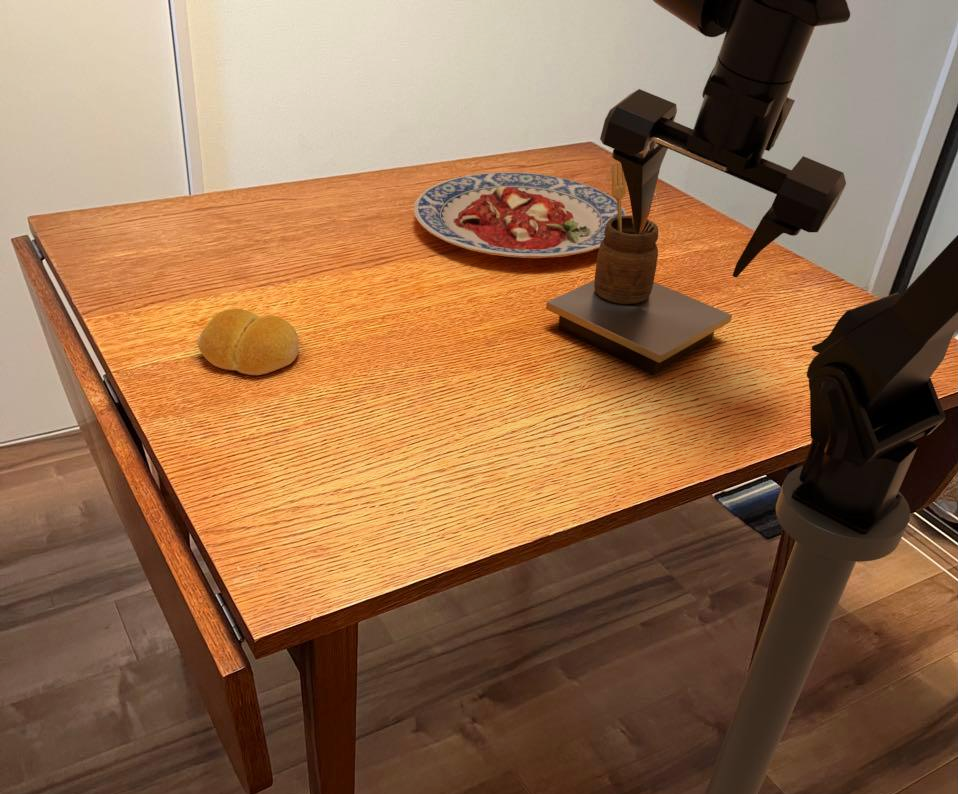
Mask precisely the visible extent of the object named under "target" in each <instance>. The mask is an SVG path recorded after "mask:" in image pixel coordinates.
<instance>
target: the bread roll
mask: <svg viewBox="0 0 958 794" xmlns="http://www.w3.org/2000/svg"><path fill="white" fill-rule="evenodd" d="M299 341H300V340H299V335H298V333H297V331H296V329H295V328H294V326H293V325H292V323H290V322H289V321H287V320H286V319H284V318H282V317H280V316H278V315H263V316H259V315H258V314H256V313H254V312H253V311H250V310H246V309H243V308H238V307H237V308H230V309H224V310H222V311H221V312H219V313H217V314H216V315H215V316H213V317H212V318H211V320H209V322H208V324H206V326H204V328H203V329H202V330H201V332H200V334H199V336H198V339H197V347H198V349H199V351H200V353H201V355H202V356H203V357H204V359H206V361H208V362H209V363H210V364H211V365H212V366H215V367H216V368H219V369H223V370H228V371H236V372H238V373H241V374H243V375H249V376H261V375H267V374H271V373H272V372H275V371H278V370H281V369H283V368H285V367H287V366H289V365H290V364H292V363H293V362H294V361H295V360H296V358H297V356H298V355H299V349H300V348H299V347H300V346H299Z"/></svg>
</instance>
